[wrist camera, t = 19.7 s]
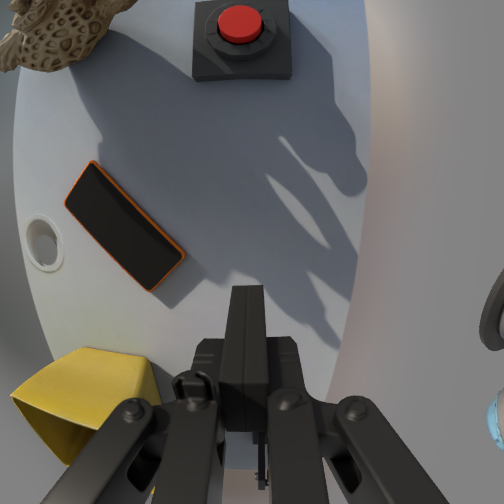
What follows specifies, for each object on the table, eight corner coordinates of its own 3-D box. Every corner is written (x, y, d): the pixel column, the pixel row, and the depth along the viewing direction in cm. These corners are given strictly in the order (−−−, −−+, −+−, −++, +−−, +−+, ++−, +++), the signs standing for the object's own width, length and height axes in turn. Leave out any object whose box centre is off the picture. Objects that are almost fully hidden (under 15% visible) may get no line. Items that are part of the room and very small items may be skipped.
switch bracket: (289, 438, 45) (294, 493, 33) (252, 439, 45) (252, 495, 33) (294, 408, 42) (302, 471, 30) (252, 409, 42) (251, 473, 30)
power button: (260, 12, 20) (261, 4, 19) (261, 43, 22) (261, 37, 20) (220, 13, 20) (218, 6, 19) (220, 45, 22) (217, 38, 20)
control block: (286, 7, 23) (289, -9, 19) (289, 79, 26) (294, 69, 22) (198, 10, 23) (191, -6, 19) (196, 82, 26) (188, 72, 22)
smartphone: (94, 158, 29) (90, 158, 28) (188, 253, 33) (187, 255, 32) (64, 203, 30) (60, 204, 30) (150, 292, 34) (148, 295, 34)
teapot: (30, 103, 26) (-48, 99, 11) (32, 39, 22) (-34, 20, 8) (166, 42, 24) (109, -18, 10) (161, -23, 21) (119, -87, 6)
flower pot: (184, 421, 44) (167, 498, 28) (95, 404, 44) (63, 466, 28) (167, 342, 37) (129, 437, 21) (62, 327, 37) (7, 392, 22)
